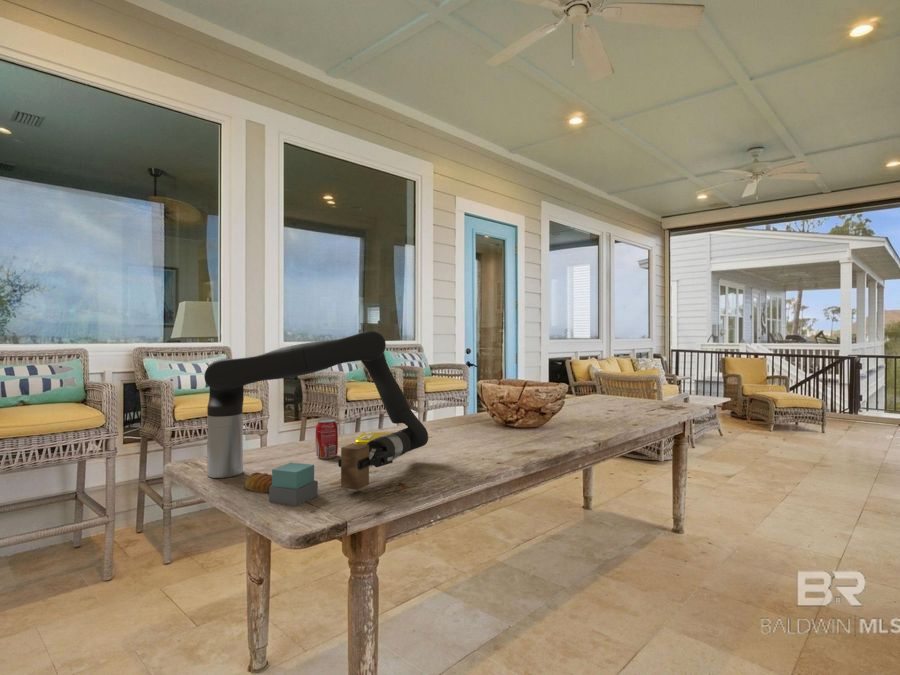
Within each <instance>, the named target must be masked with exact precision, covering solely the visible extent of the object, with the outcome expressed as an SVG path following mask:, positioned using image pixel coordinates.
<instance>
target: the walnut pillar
mask: <svg viewBox="0 0 900 675" xmlns="http://www.w3.org/2000/svg"><path fill="white" fill-rule="evenodd" d="M340 454H341V455H340V458H341V467H340V488H342V489H343V488H344V489H351V490H356V491H357V490H360V489H362V488H365V487H366V486H368V485H370V467H366V468H364V469H361V470H358V469H357V463H358V461H359V460H361V459H364V458H368V456H369V445H363V444H355V442H354V443H350V444H346V445H344V446H341V447H340Z"/></svg>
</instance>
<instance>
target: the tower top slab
mask: <svg viewBox="0 0 900 675" xmlns="http://www.w3.org/2000/svg"><path fill="white" fill-rule="evenodd" d="M271 475H272V486H274V487H282V488H290V489H298V488H300V487H302V486H305V485H307V484H309V483H311V482H313V481H314V480H315V464H311V463H310V464H309V463H302V462H301V463H299V462H288V463H285V464H283V465H280V466H278V467H275V468H273V469H272V470H271Z"/></svg>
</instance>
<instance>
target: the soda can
mask: <svg viewBox="0 0 900 675" xmlns="http://www.w3.org/2000/svg"><path fill="white" fill-rule="evenodd" d="M336 421H337V420H336V419H334V418H322V419H318V420H317V423H316V425H315V455H316V457H318V458H319V459H322V460H328V459H333V458H335V457H336V456H337V455H338V452H339V428H338V426H339V425H338V424H337V422H336Z"/></svg>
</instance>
